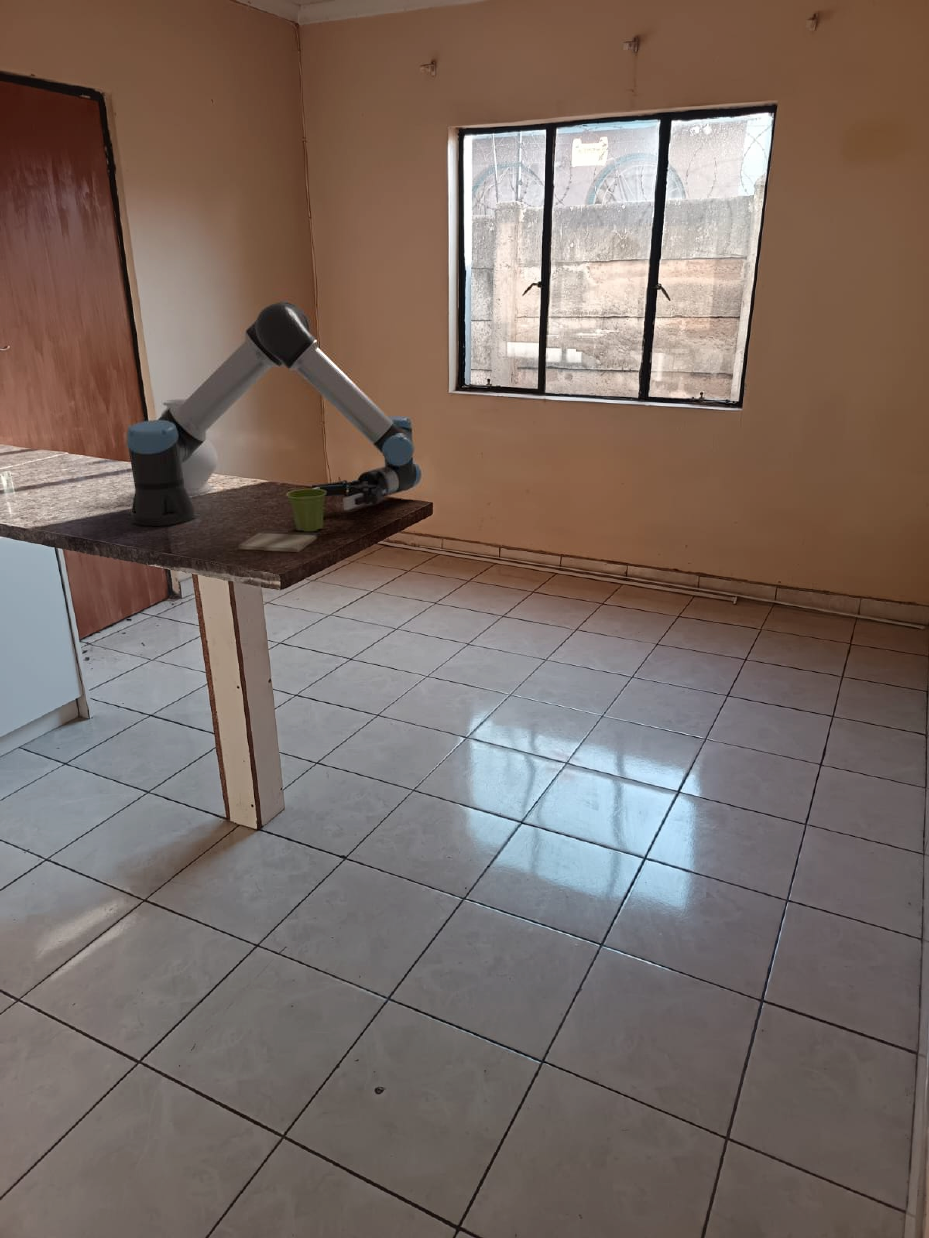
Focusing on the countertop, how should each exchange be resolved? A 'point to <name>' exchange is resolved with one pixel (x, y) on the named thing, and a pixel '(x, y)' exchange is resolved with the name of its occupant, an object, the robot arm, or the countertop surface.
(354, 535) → the countertop surface
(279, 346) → the robot arm
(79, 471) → the countertop surface
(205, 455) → the decorative vase
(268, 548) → the board
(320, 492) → the plant pot
